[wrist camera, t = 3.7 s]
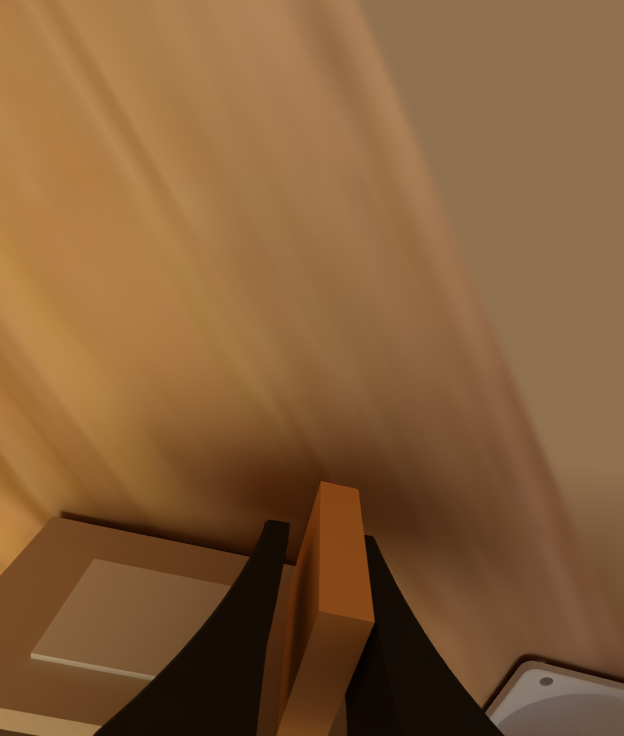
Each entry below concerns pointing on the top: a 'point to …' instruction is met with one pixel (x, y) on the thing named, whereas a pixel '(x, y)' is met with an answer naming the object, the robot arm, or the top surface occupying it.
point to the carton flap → (176, 622)
